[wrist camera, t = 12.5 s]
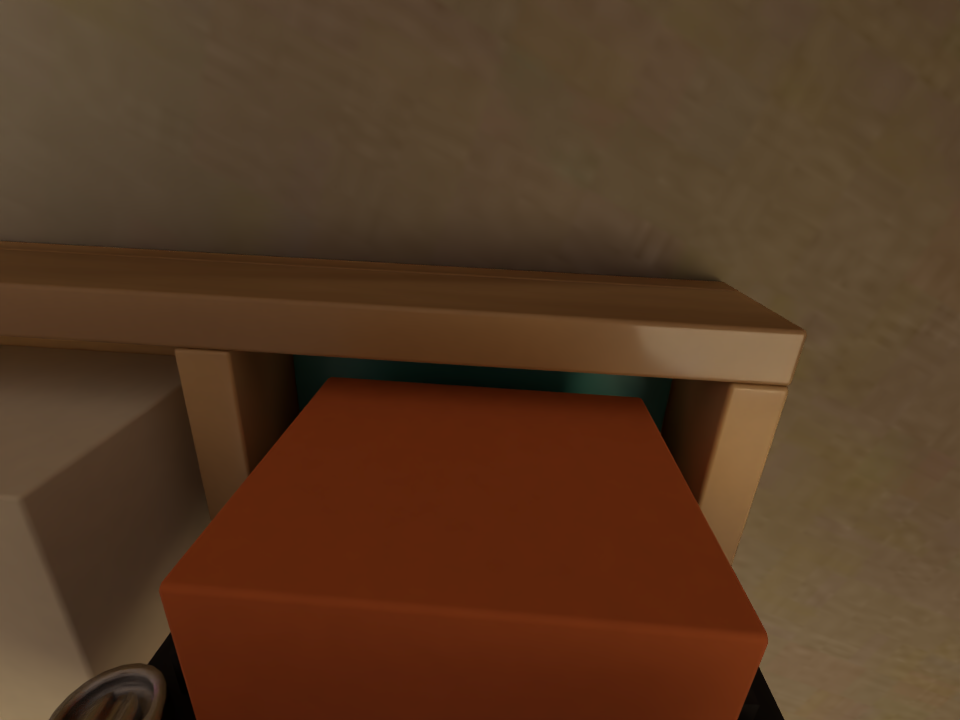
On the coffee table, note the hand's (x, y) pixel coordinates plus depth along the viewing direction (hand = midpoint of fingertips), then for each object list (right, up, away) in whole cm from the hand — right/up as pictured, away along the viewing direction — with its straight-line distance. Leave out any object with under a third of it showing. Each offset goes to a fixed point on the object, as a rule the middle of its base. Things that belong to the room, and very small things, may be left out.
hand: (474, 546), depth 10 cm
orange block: (0, 0, +1) cm, 1 cm away
